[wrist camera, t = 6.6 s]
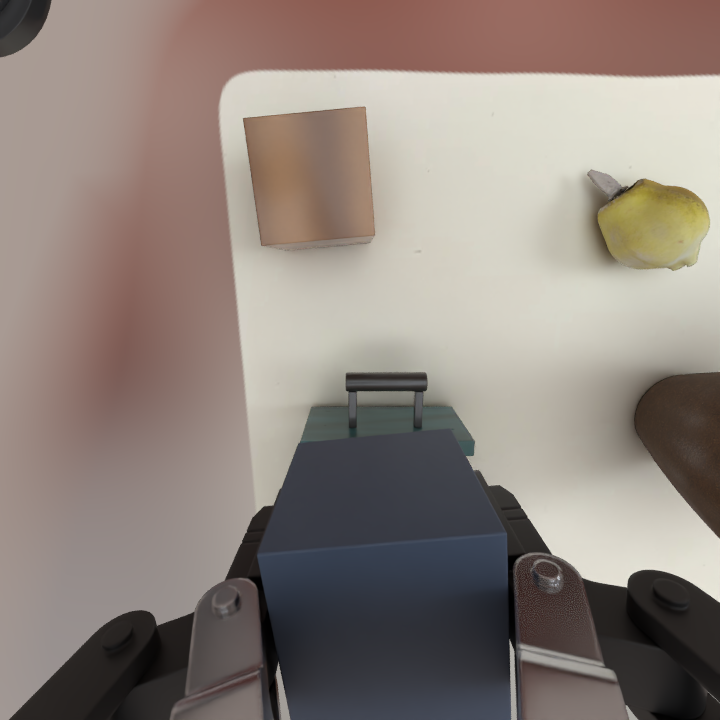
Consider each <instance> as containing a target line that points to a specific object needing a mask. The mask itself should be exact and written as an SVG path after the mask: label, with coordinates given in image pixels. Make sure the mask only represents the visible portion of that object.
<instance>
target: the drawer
mask: <svg viewBox="0 0 720 720" xmlns="http://www.w3.org/2000/svg"><path fill="white" fill-rule="evenodd" d="M426 390H427V374H426V373H425V372H400V373H346V391H349V407H311V410H310V413H309V416H308V419H307V422H306V426H305V429H304V432H303V435H302V438H301V441H300V443H303V442H314V441H324V440H334V439H345V438H355V437H365V436H376V435H386V434H396V433H407V432H417V431H427V430H438V429H448V428H450V429H451V430H452V431H453V433H454V435H455V437H456V439H457V441H458V443H459V444H460V446H461V448H462V450H463V452H464V454H465V456H473V455H474V445H475V441H474V439H473V438H472V436H471V435H470V433H469V432H468V430H467V429H466V427H465V426H464V424H463V423H462V421H461V420H460V418H459V417H458V415H457V414H456V412H455V411H454V409H453V408H452V407H423V391H426ZM357 391H414V407H357Z"/></svg>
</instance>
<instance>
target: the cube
mask: <svg viewBox="0 0 720 720" xmlns="http://www.w3.org/2000/svg"><path fill="white" fill-rule="evenodd" d="M243 122H244V128H245V135H246V142H247V149H248V156H249V163H250V170H251V177H252V184H253V191H254V198H255V205H256V211H257V218H258V225H259V232H260V239H261V245H262V246H266V247H271V248H276V249H281V250H296V249H307V248H318V247H329V246H340V245H351V244H362V243H370V242H371V241H372V239H373V237H374V236H375V228H374V215H373V201H372V188H371V174H370V161H369V147H368V133H367V120H366V108H365V107H355V108H344V109H334V110H323V111H313V112H302V113H292V114H282V115H271V116H261V117H250V118H243Z"/></svg>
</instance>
